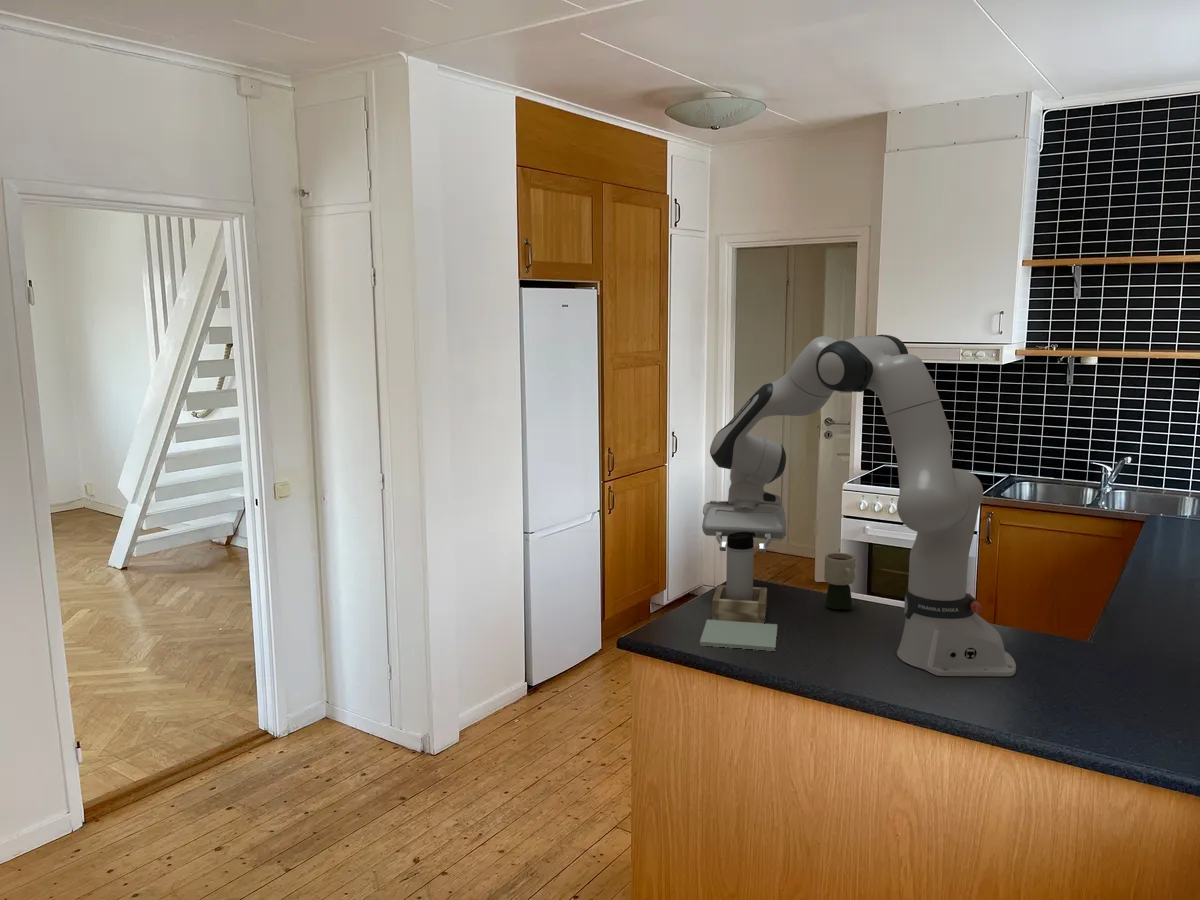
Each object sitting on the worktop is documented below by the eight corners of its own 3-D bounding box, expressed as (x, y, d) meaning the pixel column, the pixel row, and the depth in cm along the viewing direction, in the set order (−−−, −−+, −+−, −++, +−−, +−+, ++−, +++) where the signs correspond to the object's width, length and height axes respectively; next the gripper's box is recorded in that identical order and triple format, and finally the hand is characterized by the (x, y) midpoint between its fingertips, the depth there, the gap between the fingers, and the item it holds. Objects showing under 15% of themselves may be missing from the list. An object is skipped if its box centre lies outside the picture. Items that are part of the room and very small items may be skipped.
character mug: (862, 614, 206) (864, 561, 204) (834, 616, 205) (836, 563, 203) (842, 600, 217) (844, 549, 215) (815, 602, 216) (816, 551, 214)
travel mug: (753, 619, 204) (755, 536, 201) (725, 617, 205) (726, 535, 202) (754, 610, 210) (755, 529, 207) (726, 609, 211) (727, 528, 208)
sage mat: (777, 628, 198) (777, 624, 198) (775, 651, 184) (775, 647, 184) (706, 623, 201) (706, 619, 201) (699, 646, 188) (699, 641, 188)
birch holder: (766, 607, 212) (767, 587, 211) (764, 624, 200) (764, 603, 200) (717, 604, 215) (717, 584, 214) (712, 620, 203) (712, 600, 202)
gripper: (703, 493, 216) (697, 542, 208) (787, 496, 212) (785, 546, 204) (705, 507, 221) (700, 555, 213) (787, 510, 217) (785, 559, 209)
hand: (742, 550), depth 209 cm, fingers open, 8 cm apart
